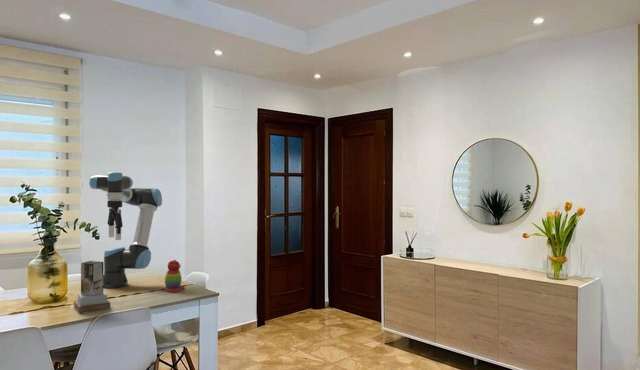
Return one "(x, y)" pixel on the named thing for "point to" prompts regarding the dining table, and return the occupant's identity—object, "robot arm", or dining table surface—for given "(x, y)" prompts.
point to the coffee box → (92, 278)
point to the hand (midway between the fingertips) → (114, 238)
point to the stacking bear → (173, 278)
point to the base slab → (91, 307)
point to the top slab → (92, 299)
